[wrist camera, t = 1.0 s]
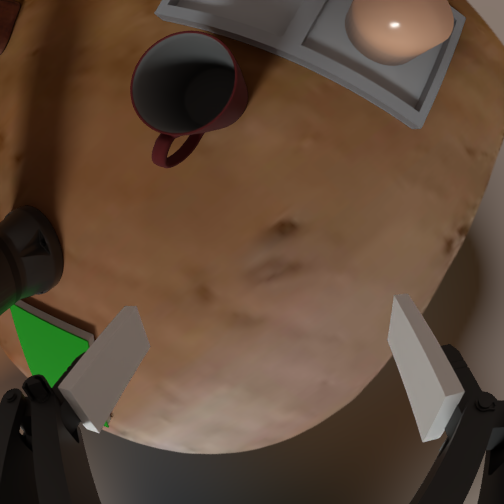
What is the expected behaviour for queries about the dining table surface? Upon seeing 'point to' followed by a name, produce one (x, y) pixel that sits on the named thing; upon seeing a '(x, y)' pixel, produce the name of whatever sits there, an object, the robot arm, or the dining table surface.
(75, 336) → the book
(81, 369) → the robot arm
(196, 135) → the mug
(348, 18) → the peach rounded cylinder
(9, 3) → the brown leather pouch
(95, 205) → the dining table surface
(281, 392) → the dining table surface
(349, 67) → the holder
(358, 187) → the dining table surface
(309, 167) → the dining table surface
